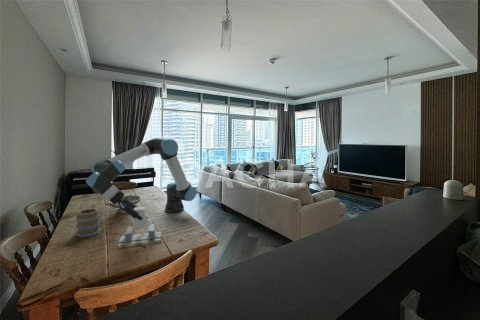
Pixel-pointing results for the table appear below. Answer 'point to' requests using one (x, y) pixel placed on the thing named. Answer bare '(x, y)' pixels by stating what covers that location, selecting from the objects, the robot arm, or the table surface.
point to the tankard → (88, 222)
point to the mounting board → (140, 240)
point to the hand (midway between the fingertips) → (146, 220)
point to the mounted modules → (130, 233)
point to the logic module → (136, 222)
